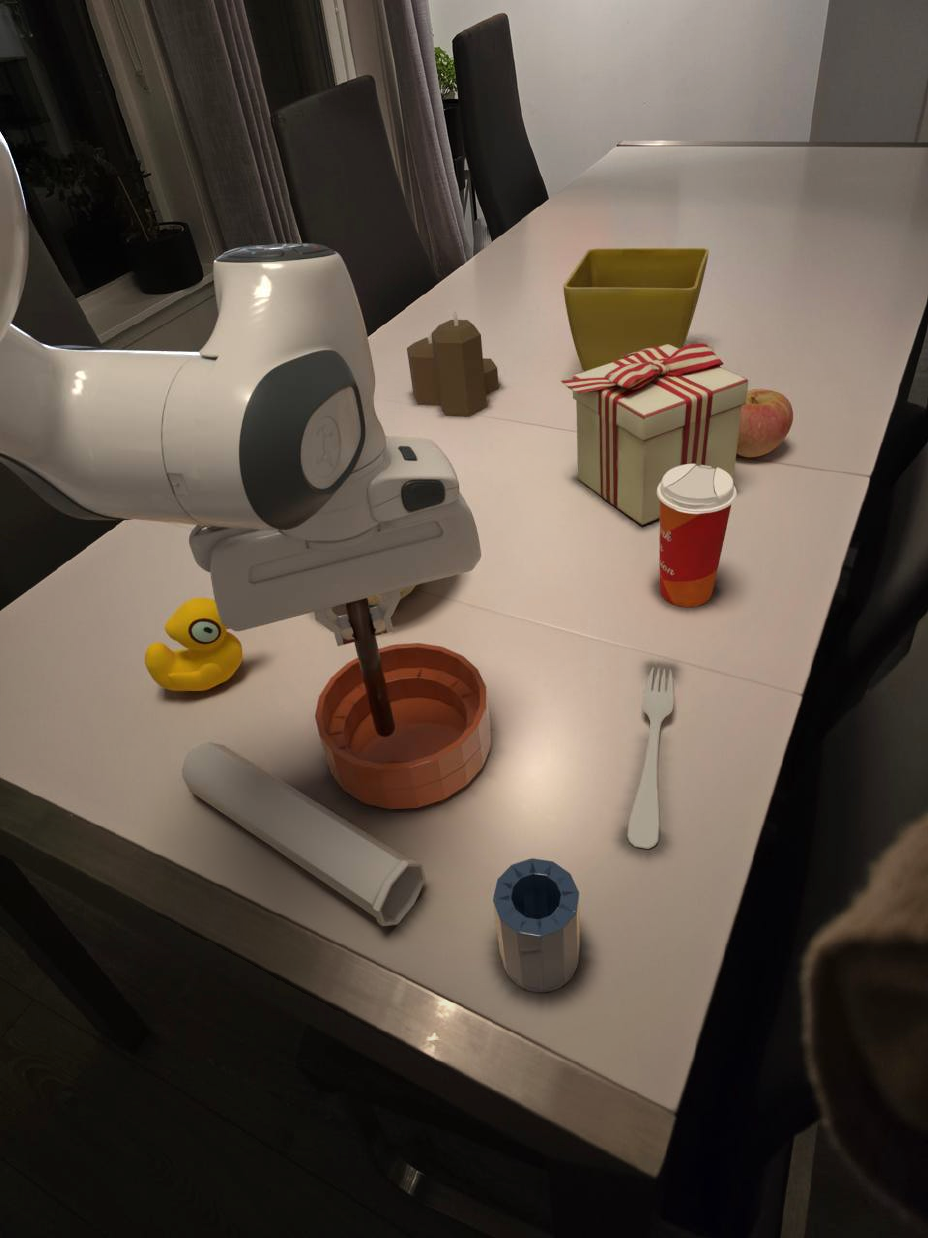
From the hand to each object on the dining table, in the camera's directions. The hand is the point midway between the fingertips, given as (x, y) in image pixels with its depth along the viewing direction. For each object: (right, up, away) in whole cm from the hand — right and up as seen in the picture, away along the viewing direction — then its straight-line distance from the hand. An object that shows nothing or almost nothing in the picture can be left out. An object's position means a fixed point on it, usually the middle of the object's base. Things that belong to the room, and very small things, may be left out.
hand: (364, 634), depth 65 cm
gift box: (+32, +19, +41) cm, 55 cm away
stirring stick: (+1, -9, +8) cm, 12 cm away
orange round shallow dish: (+3, -11, +10) cm, 15 cm away
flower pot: (+36, +41, +67) cm, 86 cm away
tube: (-6, -18, +3) cm, 19 cm away
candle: (+7, +37, +65) cm, 75 cm away
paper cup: (+33, +4, +23) cm, 40 cm away
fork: (+25, -11, +7) cm, 28 cm away
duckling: (-18, -5, +20) cm, 27 cm away
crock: (+14, -23, -7) cm, 28 cm away
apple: (+47, +24, +44) cm, 69 cm away
